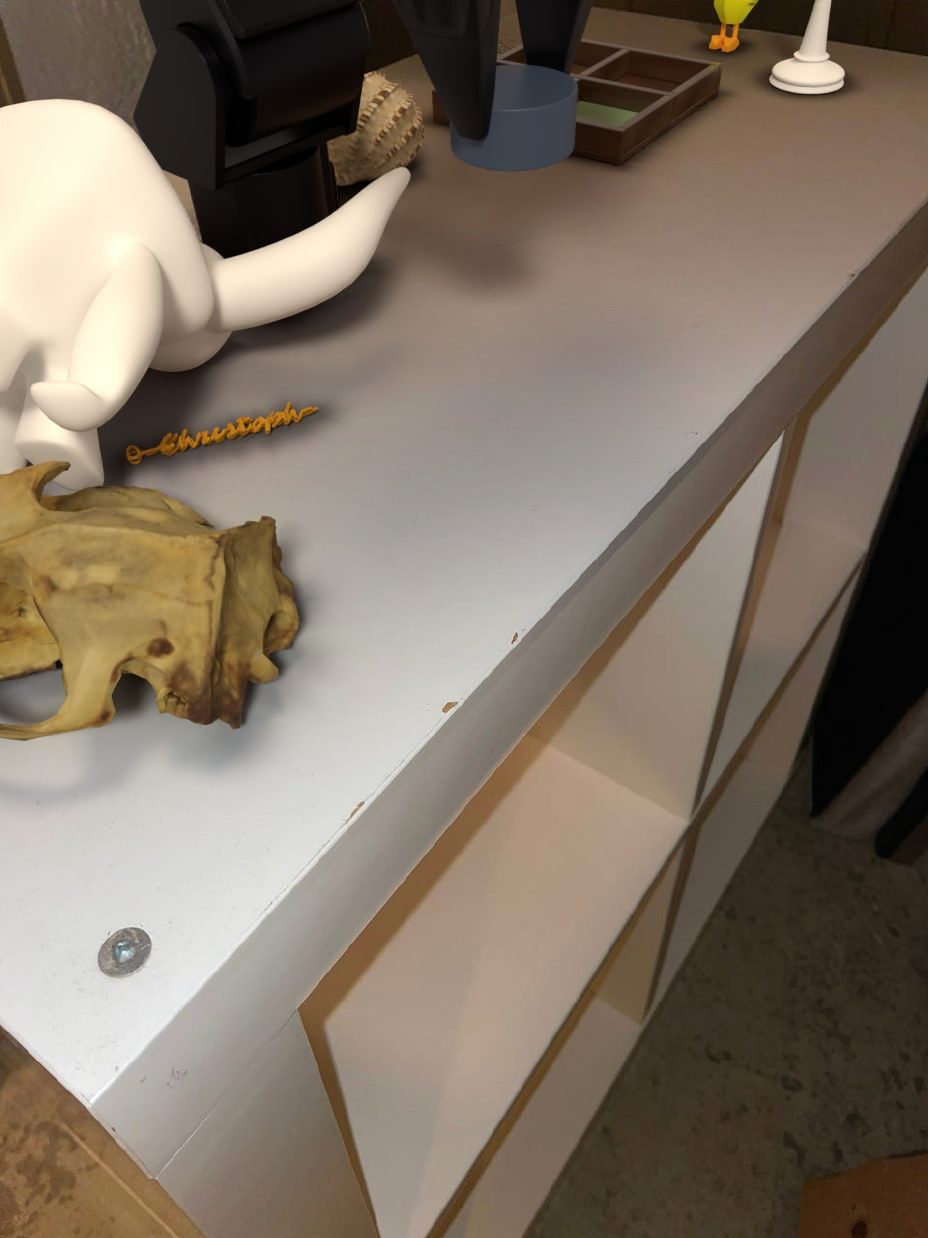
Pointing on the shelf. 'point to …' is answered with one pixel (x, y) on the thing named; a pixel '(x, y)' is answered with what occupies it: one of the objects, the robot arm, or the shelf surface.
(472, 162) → the short blue cylinder
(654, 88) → the grid
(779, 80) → the chess piece
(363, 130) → the seashell
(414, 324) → the shelf surface
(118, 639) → the animal skull
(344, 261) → the toy animal
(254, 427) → the keychain
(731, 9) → the toy figure
